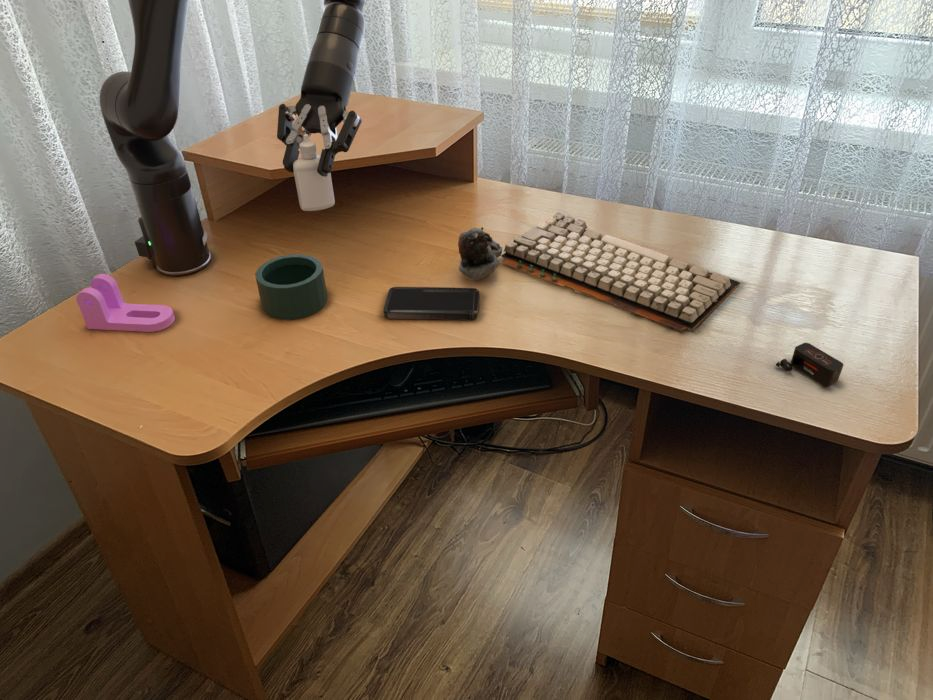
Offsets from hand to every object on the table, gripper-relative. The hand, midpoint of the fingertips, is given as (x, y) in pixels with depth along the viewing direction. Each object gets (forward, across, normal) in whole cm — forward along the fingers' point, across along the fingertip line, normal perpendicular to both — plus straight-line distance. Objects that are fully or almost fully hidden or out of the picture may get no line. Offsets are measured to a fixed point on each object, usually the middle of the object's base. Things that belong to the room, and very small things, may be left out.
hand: (305, 172), depth 115 cm
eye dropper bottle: (+4, 0, -6) cm, 7 cm away
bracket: (+29, +23, 0) cm, 37 cm away
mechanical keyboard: (+2, -47, -27) cm, 54 cm away
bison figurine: (+6, -25, -23) cm, 34 cm away
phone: (+15, -21, -13) cm, 29 cm away
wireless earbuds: (+15, -78, -14) cm, 80 cm away
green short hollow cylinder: (+19, +1, -9) cm, 21 cm away
